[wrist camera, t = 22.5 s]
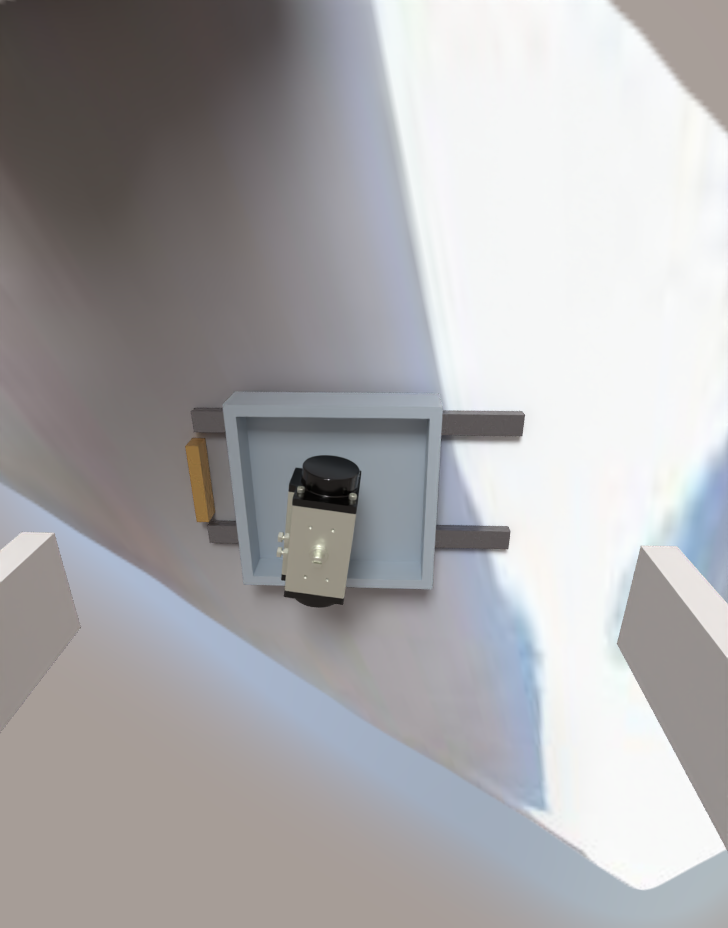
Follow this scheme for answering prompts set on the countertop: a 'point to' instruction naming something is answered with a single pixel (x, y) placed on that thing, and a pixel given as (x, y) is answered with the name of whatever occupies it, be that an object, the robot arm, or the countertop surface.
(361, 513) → the shallow square tray
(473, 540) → the rails
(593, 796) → the countertop surface
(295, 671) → the countertop surface
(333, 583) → the pneumatic valve
